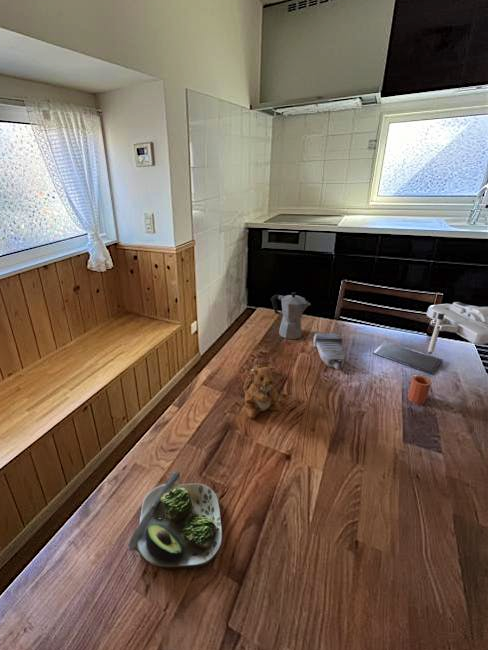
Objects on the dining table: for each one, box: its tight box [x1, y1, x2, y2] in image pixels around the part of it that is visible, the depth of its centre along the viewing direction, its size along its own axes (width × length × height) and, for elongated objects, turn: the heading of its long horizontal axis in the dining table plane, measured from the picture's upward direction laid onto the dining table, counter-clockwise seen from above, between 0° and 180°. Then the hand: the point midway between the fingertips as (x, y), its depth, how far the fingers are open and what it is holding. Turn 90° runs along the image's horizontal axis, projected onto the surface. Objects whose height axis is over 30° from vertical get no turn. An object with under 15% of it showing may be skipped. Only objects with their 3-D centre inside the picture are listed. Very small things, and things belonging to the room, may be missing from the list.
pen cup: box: [407, 375, 433, 405], centre depth 95 cm, size 4×4×7 cm
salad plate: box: [127, 470, 223, 570], centre depth 68 cm, size 19×18×5 cm
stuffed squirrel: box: [243, 363, 282, 419], centre depth 97 cm, size 10×14×13 cm
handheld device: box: [312, 332, 347, 371], centre depth 118 cm, size 10×20×5 cm, turn 173°
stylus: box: [427, 312, 445, 355], centre depth 106 cm, size 1×1×15 cm
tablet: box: [372, 340, 443, 376], centre depth 115 cm, size 18×11×1 cm, turn 42°
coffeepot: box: [270, 291, 311, 340], centre depth 131 cm, size 15×9×18 cm, turn 53°
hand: (435, 325), depth 105 cm, fingers closed on stylus, 1 cm apart
